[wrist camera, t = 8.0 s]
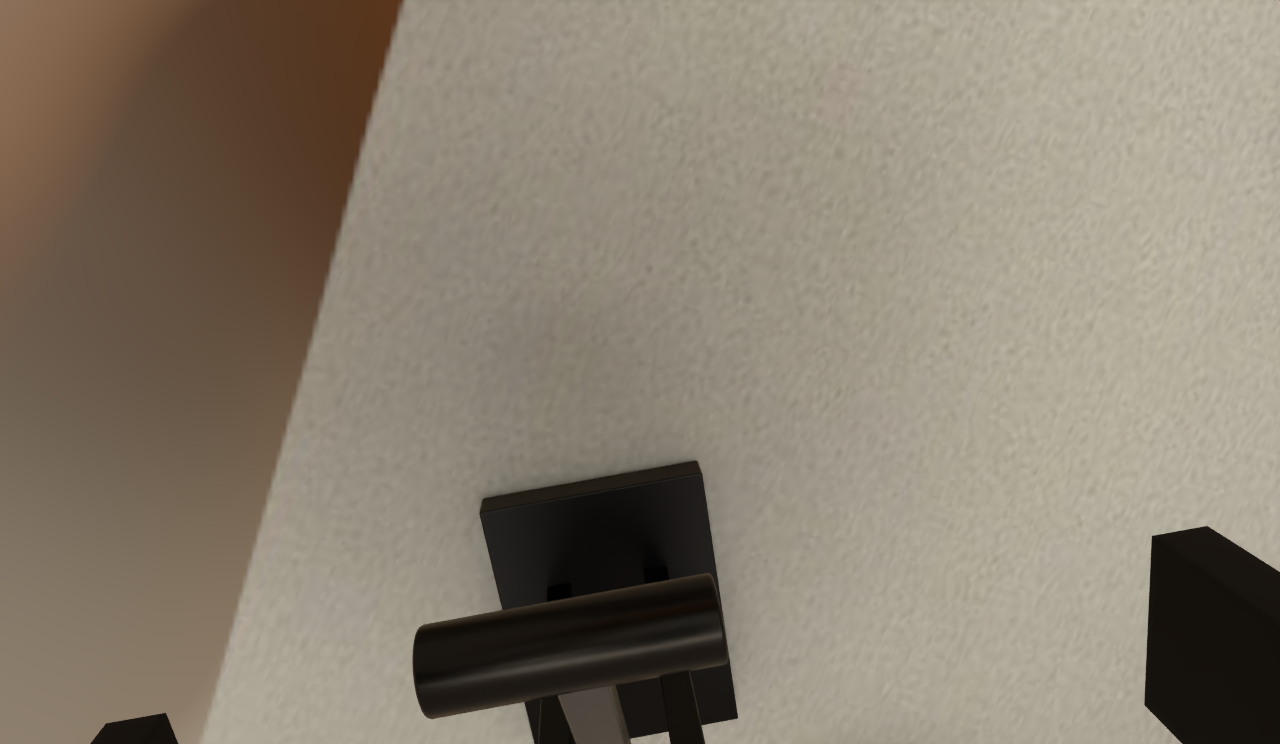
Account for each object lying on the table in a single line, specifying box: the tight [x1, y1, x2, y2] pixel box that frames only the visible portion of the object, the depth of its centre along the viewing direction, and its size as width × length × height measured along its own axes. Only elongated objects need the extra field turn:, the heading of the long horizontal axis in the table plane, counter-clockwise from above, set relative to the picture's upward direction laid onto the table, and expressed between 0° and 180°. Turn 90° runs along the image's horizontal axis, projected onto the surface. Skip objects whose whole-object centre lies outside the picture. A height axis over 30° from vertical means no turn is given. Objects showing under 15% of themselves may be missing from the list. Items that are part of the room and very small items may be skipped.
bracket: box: [479, 461, 738, 744], centre depth 29 cm, size 12×9×14 cm
